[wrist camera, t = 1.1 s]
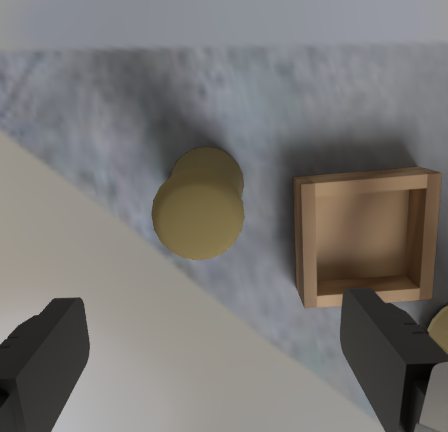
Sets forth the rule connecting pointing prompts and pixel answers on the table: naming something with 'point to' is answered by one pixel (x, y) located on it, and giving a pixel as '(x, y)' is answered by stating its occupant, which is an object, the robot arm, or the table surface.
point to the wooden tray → (366, 234)
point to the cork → (200, 205)
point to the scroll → (440, 329)
